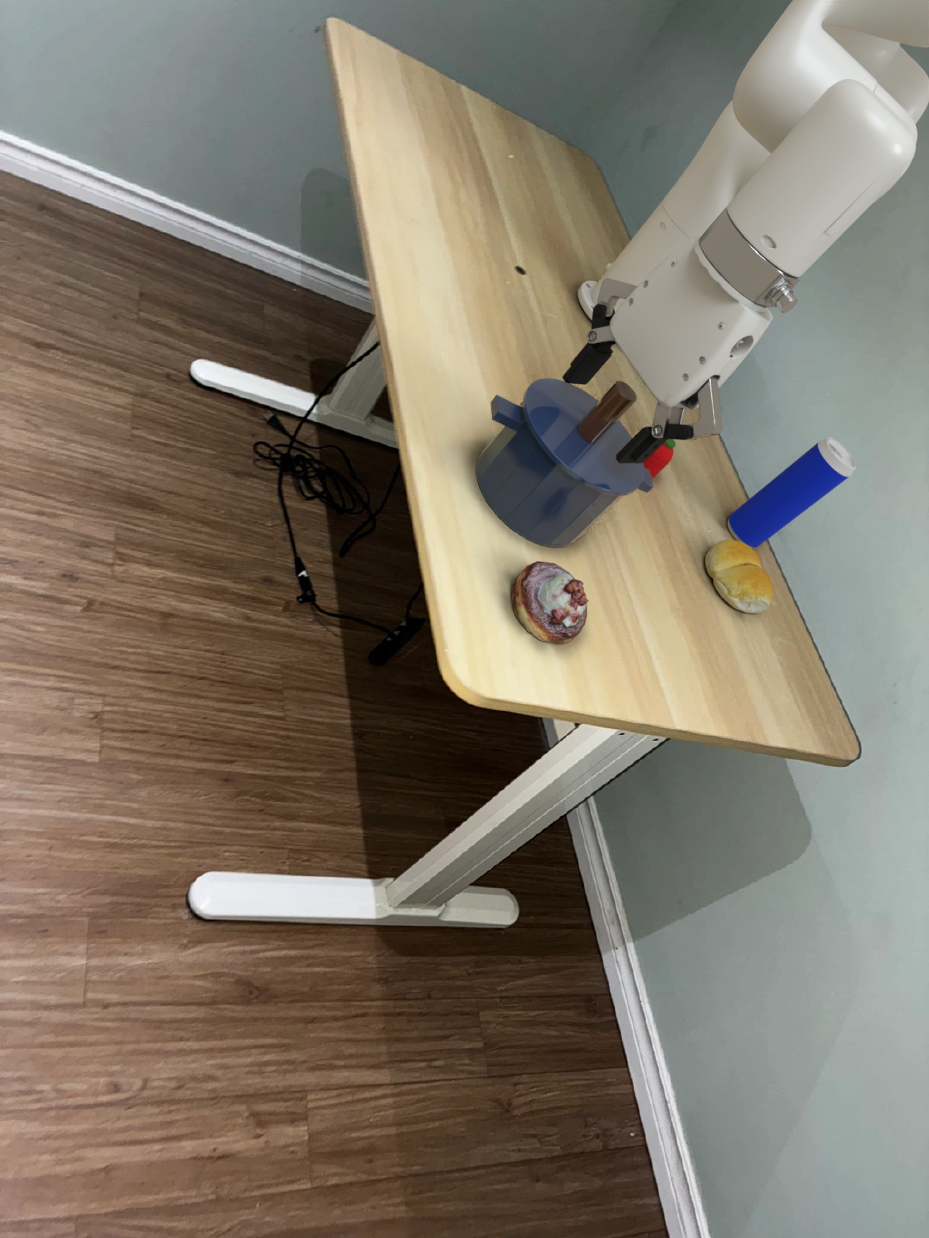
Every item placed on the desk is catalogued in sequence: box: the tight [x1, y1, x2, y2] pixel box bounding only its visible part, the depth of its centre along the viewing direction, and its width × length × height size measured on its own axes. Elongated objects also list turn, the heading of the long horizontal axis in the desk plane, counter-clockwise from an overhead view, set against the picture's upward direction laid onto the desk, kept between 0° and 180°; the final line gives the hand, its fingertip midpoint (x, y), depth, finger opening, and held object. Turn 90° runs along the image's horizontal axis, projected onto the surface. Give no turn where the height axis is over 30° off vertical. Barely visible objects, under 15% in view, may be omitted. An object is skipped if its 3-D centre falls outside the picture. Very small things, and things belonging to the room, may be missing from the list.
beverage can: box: [727, 437, 857, 549], centre depth 96 cm, size 5×5×15 cm
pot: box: [475, 394, 654, 549], centre depth 77 cm, size 13×18×8 cm
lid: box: [522, 377, 644, 497], centre depth 73 cm, size 14×14×7 cm
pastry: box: [511, 560, 589, 645], centre depth 70 cm, size 8×8×5 cm
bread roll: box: [704, 538, 774, 614], centre depth 91 cm, size 8×9×4 cm
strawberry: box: [643, 439, 676, 479], centre depth 95 cm, size 4×4×4 cm
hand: (599, 420), depth 73 cm, fingers open, 8 cm apart
